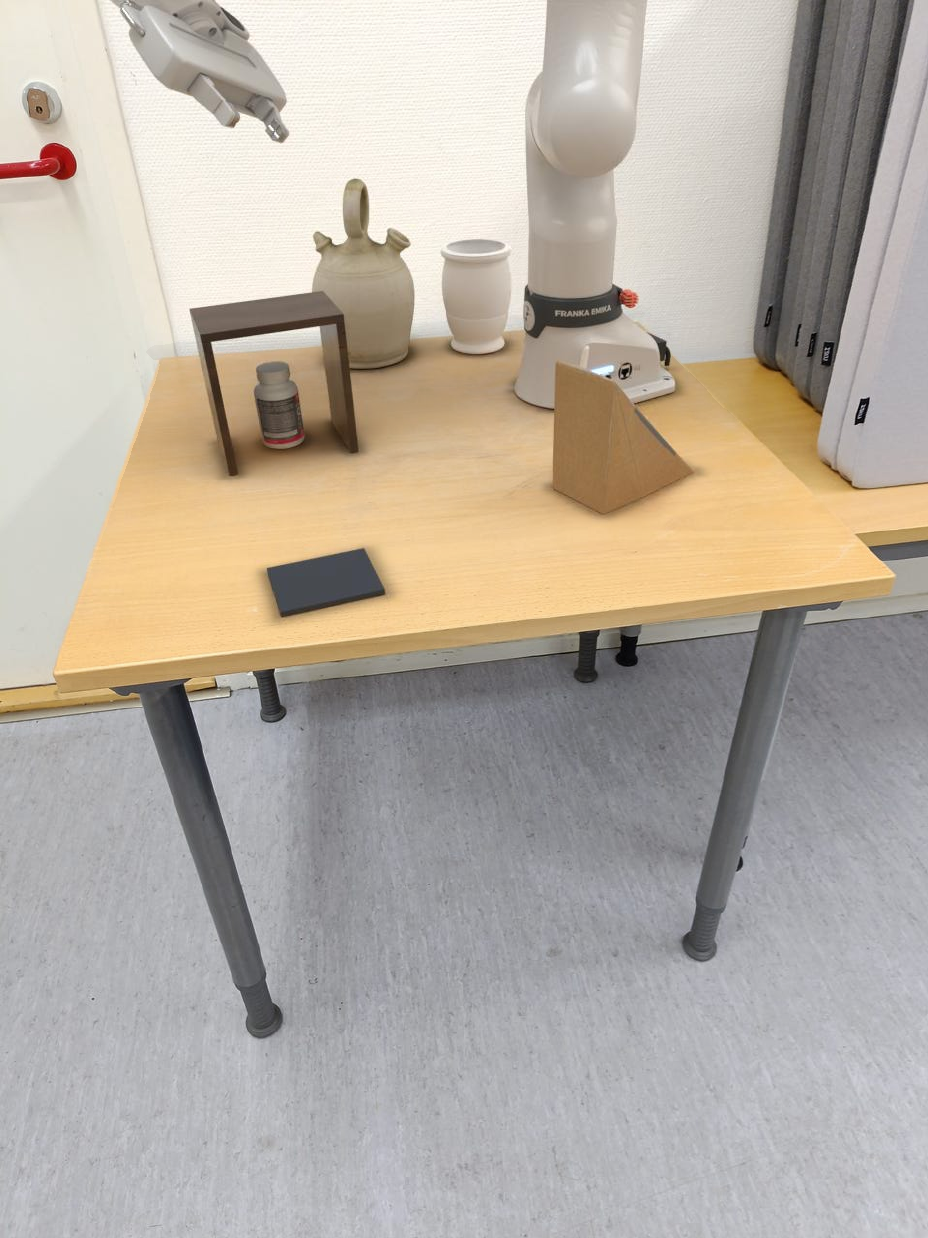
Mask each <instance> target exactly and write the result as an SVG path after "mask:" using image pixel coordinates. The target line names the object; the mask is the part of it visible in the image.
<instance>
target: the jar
mask: <svg viewBox="0 0 928 1238" xmlns="http://www.w3.org/2000/svg"><path fill="white" fill-rule="evenodd" d="M511 253H512V244H510V243H509V242H506V241H503V240H498V239H489V238H470V239H469V238H468V239H459V240H454V241H450V242H447V243H445V244H443V245H442V246H441V247H440V255H441V257H442V258H443V259H444V262H443V266H442V273H441V274H442V275H441V293H442V301H443V306H444V310H445V317H446V322H447V326H448V327H449V330H450V332H451V334H452V336H453V338H452V339H451V342H450V346H451V348H452V349H453V350H454V351H457V352H459V353H463V354H468V355H485V354H491V353H495V352H498V351H500V350H501V349H503V348H504V346H505V340H504V338H503V337H502V335H503V333H504V332H505V331H504V330H505V328H506V326H507V322H508V317H509V316H508V315H509V309H510V305H511V298H512V275H511V267H510V263H509V260H508V258H509V256H511Z"/></svg>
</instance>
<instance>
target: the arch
mask: <svg viewBox="0 0 928 1238" xmlns="http://www.w3.org/2000/svg"><path fill="white" fill-rule="evenodd" d="M188 310H189V314H190V319H191V324H192V328H193V333H194V334H193V335H194V338H195V343H196V347H197V352H198V357H199V363H200V366H201V371H202V375H203V376H202V377H203V379H204V380H203V381H204V385H205V389H206V393H207V399H208V403H209V408H210V412H211V418H212V422H213V427H214V432H215V435H216V441H217V444H218V448H219V449H220V450H219V451H220V453H221V456H222V458H223V461H224V464H225V467H226V471H227V472H228V475H229V476H230V477H231V476H237V475H239V472H238V466H237V461H236V457H235V452H234V446H233V443H232V438H231V432H230V428H229V423H228V418H227V413H226V408H225V403H224V398H223V393H222V388H221V383H220V379H219V374H218V369H217V363H216V358H215V354H214V350H213V344H212V343H214V342H221V341H227V340H228V341H229V340H235V339H242V338H248V337H256V336H262V335H270V334H275V333H276V334H277V333H283V332H289V331H296V330H297V331H298V330H304V329H311V328H318V327H319V326H320V327H319V334H320V343H321V348H322V356H323V364H324V365H323V366H324V372H325V380H326V388H327V397H328V403H329V412H330V420H331V424H332V425H333V427H334V429H335V430H336V432H337V433H338V435H339V436H340V438H341V440H342V441H343V443H344V444H345V446H346V447H347V449H348V451H349V452H350V454H353V453H359V450H360V449H359V442H358V431H357V423H356V412H355V404H354V396H353V394H354V393H353V387H352V386H353V385H352V378H351V377H352V376H351V368H350V367H349V357H348V348H347V339H346V330H345V323H344V322H345V321H344V314H343V313H342V312H341V311H340V309H339V308H338V307H337V306H336V305H335V304H334V303H333V302H332V300H331V299H330V298H329V297H328V296H327V295H326V294H325V293H324V291H318V292H312V291H311V292H303V293H297V294H290V295H289V294H288V295H281V296H273V297H267V298H257V299H252V300H244V301H243V300H242V301H236V302H228V303H222V304H215V305H207V306H198V307H192V308H189V309H188Z"/></svg>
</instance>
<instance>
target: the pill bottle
mask: <svg viewBox="0 0 928 1238" xmlns="http://www.w3.org/2000/svg"><path fill="white" fill-rule="evenodd" d="M255 372H256V380H257V381H258V383H257V384H255V386H254V389H253V397H254V403H255V408H256V412H257V417H258V423H259V429H260V435H261V439H262V443H263V445H265V446H266V447H268V448H271V449H275V450H285V449H290V448H294V447H296V446H299V445H301V443H303V442H304V440H305V436H306V435H305V427H304V422H303V415H302V408H301V401H300V394H299V388H298V385H297V383H296V382H295V381H293V380H292V379H290V378H291V370H290V365H289V364H288V363H287V362H284V361H278V360H277V361H267V362H264V363H261V364H259V365H257V366H256V368H255Z"/></svg>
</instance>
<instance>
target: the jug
mask: <svg viewBox="0 0 928 1238" xmlns="http://www.w3.org/2000/svg"><path fill="white" fill-rule="evenodd" d="M342 220H343V228H344V231H345V234H346V236H347V238H346V239H345V240H344V242H343V243H340V244H334V243H333V238H331V237H330V236H326V235H325V234H323V233H322V232H320V231H315V232H314V233H313V235H312V238H313V242H314V244H315V251H316V252H317V253H319V254H320V260H319V262H318V264H317V266H316V269H315V271H314V274H313V277H312V284H311V292H318V291H324V293H325V294H326V295H327V296H328V297H329V298H330V299H331V300H332V302H333V303H334V304H335V305H336V306H337V307H338V308H339V309H340V311H341V312H342V313H343V314H344V321H345V322H344V323H345V330H346V339H347V348H348V357H349V367H350V369H352V370H354V369H355V370H363V369H364V370H367V369H369V370H371V369H380V368H384V367H389V366H393V365H395V364H398V363H400V362H401V361H403V360H404V359H405V358H406V357H407V356H408V353H409V346H410V341H411V332H412V326H413V320H414V312H415V285H414V279H413V276H412V273H411V271H410V269H409V267H408V265H407V263H406V262H405V260H404V259H403V257H402V256H401V253H402V252H403V251H405V250H406V249H407V248H409V247H411V245H412V243H411V241H410V239H409V238H408V237H407V236H406V235H405V234H403V233H402V232H401V231H399V230H397V229H396V228H392V227H390V228H388V229H387V230H386V237H385V242H383V243H381V242H377V241H375V240H373V239H372V238H371V237H370V235H369V231H368V230H369V226H370V225H369V224H370V197H369V191H368V186H367V184H366V182H364V181H363V180H362V179H361V178H355V177H354V178H352V179H349V180H348V181H347V182H346V183H345V186H344V190H343V194H342ZM318 327H319V328H320V326H318Z"/></svg>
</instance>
